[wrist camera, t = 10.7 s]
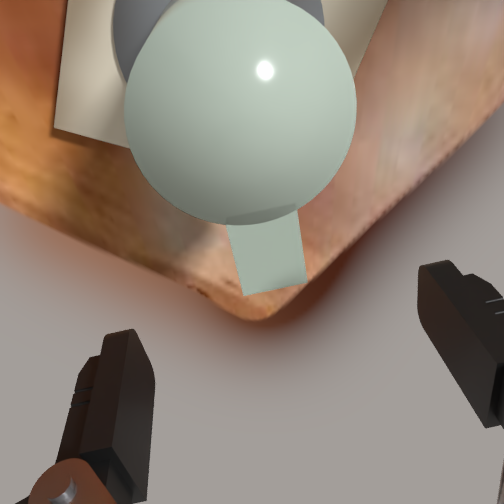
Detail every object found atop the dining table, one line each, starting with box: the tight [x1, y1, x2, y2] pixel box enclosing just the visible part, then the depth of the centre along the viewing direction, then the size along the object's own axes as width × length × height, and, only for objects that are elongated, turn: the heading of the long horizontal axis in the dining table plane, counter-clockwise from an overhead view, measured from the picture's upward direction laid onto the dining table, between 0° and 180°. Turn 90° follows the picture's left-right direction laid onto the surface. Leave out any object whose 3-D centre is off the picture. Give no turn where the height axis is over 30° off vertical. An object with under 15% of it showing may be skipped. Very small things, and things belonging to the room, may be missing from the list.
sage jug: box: [124, 0, 357, 296], centre depth 19 cm, size 10×7×10 cm
